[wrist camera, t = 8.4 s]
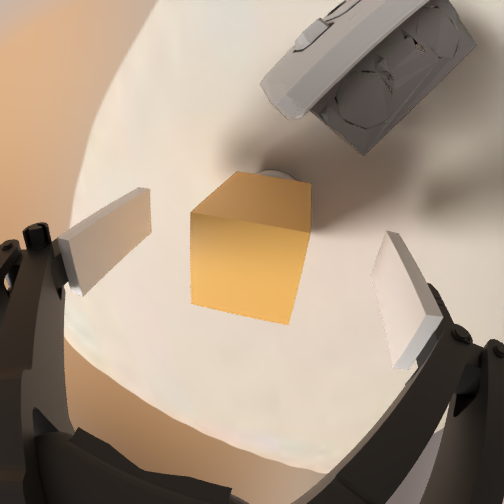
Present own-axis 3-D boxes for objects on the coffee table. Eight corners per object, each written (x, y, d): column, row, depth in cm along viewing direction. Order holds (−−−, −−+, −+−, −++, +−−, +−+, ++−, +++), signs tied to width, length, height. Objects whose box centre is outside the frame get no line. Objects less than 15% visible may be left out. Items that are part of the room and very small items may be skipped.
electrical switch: (354, -7, 10) (404, -71, 3) (414, 49, 12) (504, 34, 4) (258, 84, 15) (225, 76, 7) (321, 138, 16) (352, 184, 8)
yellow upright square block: (231, 237, 18) (191, 303, 12) (237, 171, 16) (190, 212, 10) (298, 249, 18) (288, 325, 12) (311, 183, 16) (310, 233, 10)
